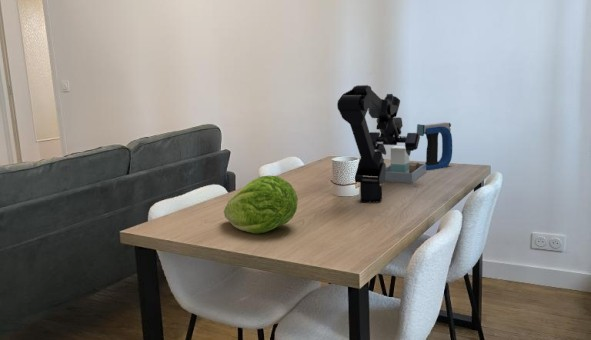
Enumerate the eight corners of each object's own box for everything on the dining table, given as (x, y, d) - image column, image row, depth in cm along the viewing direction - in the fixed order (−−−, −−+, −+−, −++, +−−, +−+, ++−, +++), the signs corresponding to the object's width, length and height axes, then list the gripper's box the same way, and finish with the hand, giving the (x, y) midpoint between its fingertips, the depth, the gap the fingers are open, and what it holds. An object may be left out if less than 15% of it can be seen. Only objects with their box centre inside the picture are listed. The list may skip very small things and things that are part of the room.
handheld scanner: (415, 170, 209) (415, 124, 205) (445, 166, 215) (446, 120, 211) (422, 172, 205) (422, 125, 201) (452, 167, 211) (453, 121, 207)
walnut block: (414, 175, 197) (414, 165, 196) (394, 174, 201) (394, 164, 200) (419, 172, 202) (418, 162, 201) (399, 171, 206) (399, 161, 205)
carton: (405, 180, 190) (404, 148, 188) (390, 179, 193) (390, 148, 190) (409, 177, 195) (409, 146, 193) (395, 176, 198) (394, 145, 195)
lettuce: (213, 243, 143) (252, 232, 155) (276, 230, 127) (314, 219, 139) (201, 191, 144) (241, 185, 156) (263, 172, 128) (302, 167, 141)
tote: (412, 184, 185) (412, 173, 184) (378, 182, 191) (378, 171, 191) (426, 173, 202) (426, 163, 202) (394, 171, 209) (394, 162, 208)
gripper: (418, 110, 177) (426, 137, 189) (368, 110, 186) (378, 136, 198) (412, 135, 172) (420, 162, 183) (360, 134, 181) (371, 160, 192)
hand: (397, 154), depth 189 cm, fingers open, 9 cm apart
